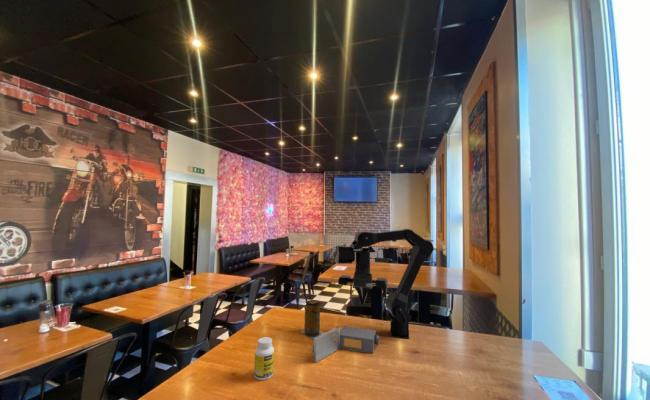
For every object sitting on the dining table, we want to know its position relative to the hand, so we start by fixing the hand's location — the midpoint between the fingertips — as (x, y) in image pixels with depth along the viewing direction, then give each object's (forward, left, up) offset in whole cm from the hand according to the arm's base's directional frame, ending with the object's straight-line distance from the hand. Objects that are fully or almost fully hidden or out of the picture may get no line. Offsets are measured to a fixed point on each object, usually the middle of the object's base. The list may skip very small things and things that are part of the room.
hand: (362, 304), depth 104 cm
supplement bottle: (+23, +35, -12) cm, 44 cm away
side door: (+9, +19, -12) cm, 24 cm away
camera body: (0, +8, -12) cm, 15 cm away
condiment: (+19, +4, -12) cm, 23 cm away
